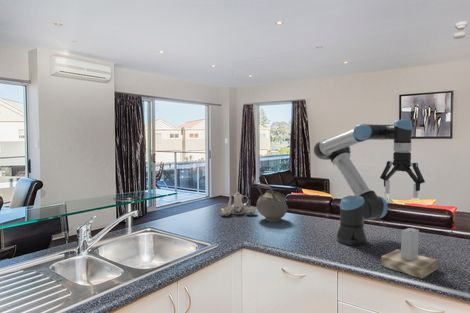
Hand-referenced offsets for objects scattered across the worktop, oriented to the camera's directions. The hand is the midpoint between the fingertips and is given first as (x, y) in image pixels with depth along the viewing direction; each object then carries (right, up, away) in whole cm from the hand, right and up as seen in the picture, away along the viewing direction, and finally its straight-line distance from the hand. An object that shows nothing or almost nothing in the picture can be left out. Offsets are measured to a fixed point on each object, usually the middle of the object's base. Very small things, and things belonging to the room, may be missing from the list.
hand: (400, 195), depth 152 cm
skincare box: (-8, -24, -22) cm, 33 cm away
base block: (-8, -28, -21) cm, 36 cm away
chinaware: (-78, -23, +75) cm, 111 cm away
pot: (-56, -24, +57) cm, 83 cm away
